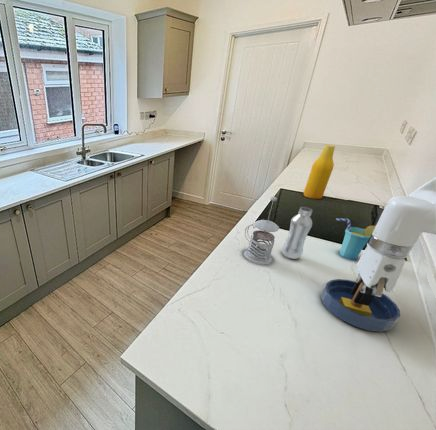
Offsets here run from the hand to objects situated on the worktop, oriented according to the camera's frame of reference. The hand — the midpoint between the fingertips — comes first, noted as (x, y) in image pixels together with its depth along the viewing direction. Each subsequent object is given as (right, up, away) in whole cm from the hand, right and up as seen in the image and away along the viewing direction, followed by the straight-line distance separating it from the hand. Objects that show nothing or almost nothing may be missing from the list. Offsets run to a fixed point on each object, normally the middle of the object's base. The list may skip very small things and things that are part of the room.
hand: (359, 299), depth 73 cm
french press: (-14, +8, +28) cm, 32 cm away
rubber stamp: (0, -4, +2) cm, 5 cm away
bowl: (+2, -4, +3) cm, 5 cm away
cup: (+20, +8, +27) cm, 35 cm away
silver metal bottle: (-1, +8, +27) cm, 28 cm away
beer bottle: (+46, +35, +78) cm, 97 cm away
